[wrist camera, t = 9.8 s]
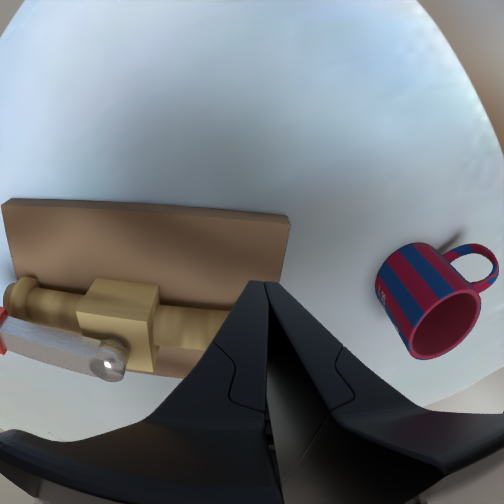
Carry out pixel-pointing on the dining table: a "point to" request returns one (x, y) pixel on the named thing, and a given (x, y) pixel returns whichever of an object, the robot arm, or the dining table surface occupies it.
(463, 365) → the dining table surface
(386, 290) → the mug
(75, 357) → the lever
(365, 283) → the dining table surface
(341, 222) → the dining table surface
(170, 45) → the dining table surface
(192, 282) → the valve board
